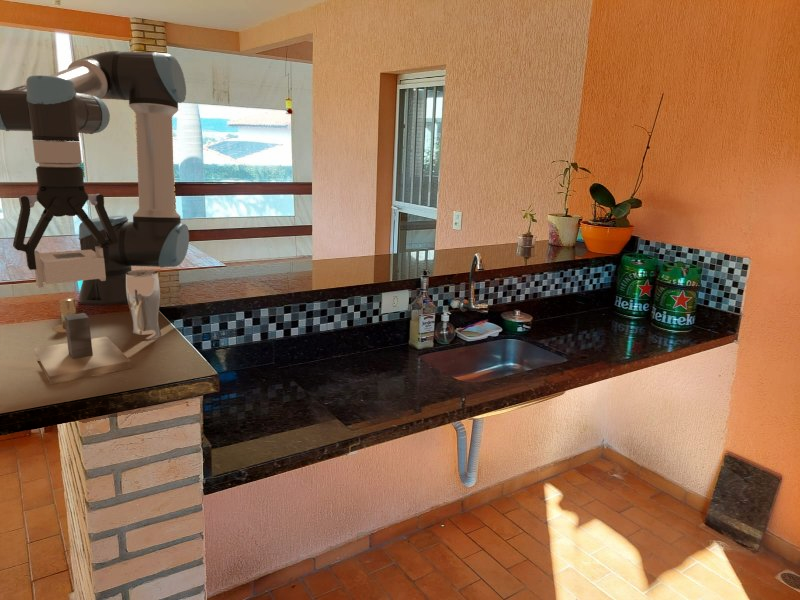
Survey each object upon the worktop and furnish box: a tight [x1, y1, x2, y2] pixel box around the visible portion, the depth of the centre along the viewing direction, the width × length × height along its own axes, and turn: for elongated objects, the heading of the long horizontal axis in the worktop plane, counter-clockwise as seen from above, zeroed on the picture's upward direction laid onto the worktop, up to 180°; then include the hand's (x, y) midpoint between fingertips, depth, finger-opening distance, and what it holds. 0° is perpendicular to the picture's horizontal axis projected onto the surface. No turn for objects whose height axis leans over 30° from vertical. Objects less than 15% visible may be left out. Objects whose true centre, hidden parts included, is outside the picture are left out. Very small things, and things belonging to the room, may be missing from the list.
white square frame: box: [39, 249, 106, 285], centre depth 113 cm, size 10×10×4 cm
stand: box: [52, 297, 77, 333], centre depth 134 cm, size 7×7×8 cm
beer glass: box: [126, 269, 162, 342], centre depth 133 cm, size 7×7×15 cm
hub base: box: [32, 312, 132, 385], centre depth 117 cm, size 14×18×10 cm
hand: (72, 282), depth 114 cm, fingers closed on white square frame, 10 cm apart
